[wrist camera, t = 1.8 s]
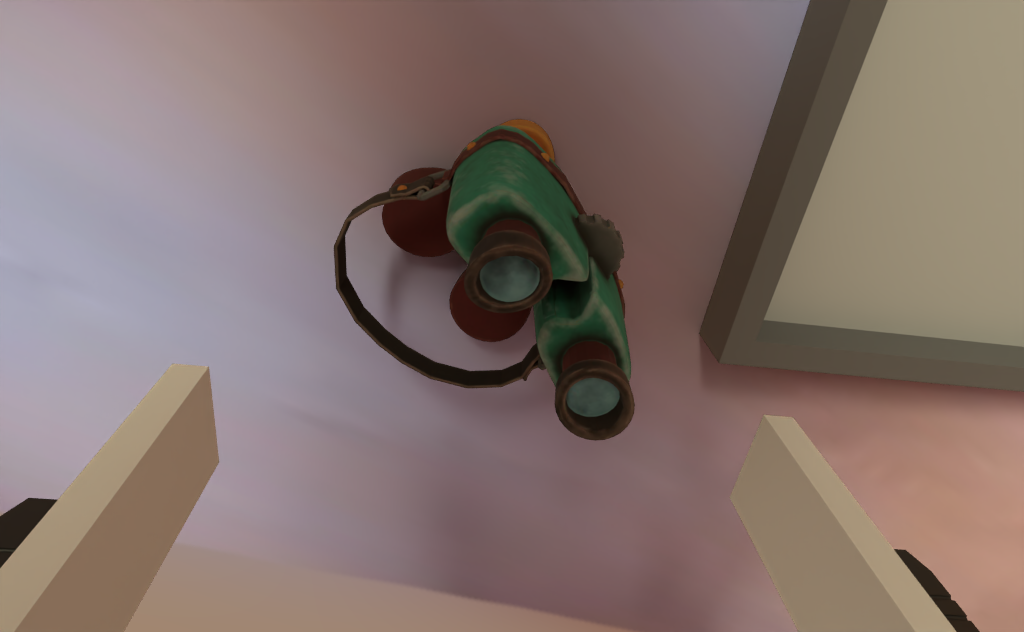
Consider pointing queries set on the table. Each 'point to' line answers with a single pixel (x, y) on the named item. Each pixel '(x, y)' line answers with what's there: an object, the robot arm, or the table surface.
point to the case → (887, 201)
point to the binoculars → (515, 272)
